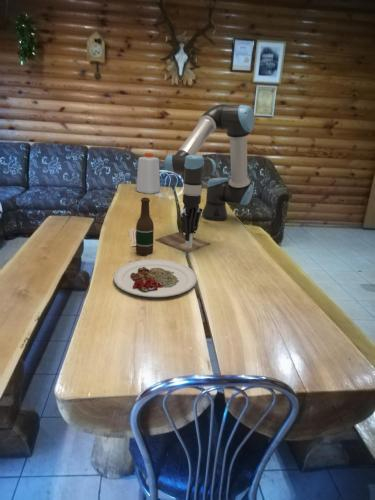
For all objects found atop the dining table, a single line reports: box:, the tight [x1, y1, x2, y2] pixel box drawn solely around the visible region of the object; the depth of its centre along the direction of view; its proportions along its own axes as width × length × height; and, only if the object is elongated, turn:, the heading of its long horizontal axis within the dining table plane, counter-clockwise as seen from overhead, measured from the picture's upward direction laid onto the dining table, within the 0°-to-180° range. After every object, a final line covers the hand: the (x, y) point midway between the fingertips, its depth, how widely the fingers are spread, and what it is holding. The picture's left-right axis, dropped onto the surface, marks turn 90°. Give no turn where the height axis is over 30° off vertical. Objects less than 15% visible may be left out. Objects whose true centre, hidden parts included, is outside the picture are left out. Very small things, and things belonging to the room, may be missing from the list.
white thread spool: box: [135, 152, 161, 195], centre depth 254 cm, size 15×15×28 cm
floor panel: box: [154, 231, 197, 249], centre depth 164 cm, size 16×12×1 cm
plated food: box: [112, 258, 197, 298], centre depth 125 cm, size 30×30×3 cm
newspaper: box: [128, 228, 136, 248], centre depth 164 cm, size 24×7×2 cm, turn 11°
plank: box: [173, 238, 211, 254], centre depth 157 cm, size 16×8×1 cm, turn 139°
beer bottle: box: [135, 197, 155, 257], centre depth 144 cm, size 8×8×24 cm
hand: (188, 247), depth 151 cm, fingers closed
